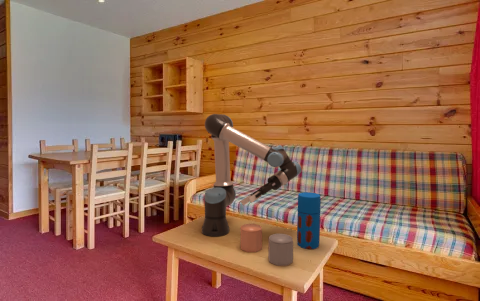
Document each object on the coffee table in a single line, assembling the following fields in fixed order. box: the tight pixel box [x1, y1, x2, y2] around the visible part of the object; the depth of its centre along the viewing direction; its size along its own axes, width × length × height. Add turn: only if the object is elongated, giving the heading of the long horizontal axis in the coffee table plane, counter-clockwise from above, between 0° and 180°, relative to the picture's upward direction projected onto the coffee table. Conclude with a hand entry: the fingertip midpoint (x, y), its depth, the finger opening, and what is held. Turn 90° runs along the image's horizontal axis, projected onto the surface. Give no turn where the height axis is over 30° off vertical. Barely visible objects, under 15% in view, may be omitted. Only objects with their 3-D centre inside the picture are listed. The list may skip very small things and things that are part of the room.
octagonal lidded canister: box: [240, 223, 263, 253], centre depth 140 cm, size 10×10×10 cm
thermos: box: [296, 192, 322, 250], centre depth 143 cm, size 11×11×25 cm
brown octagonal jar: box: [267, 233, 294, 267], centre depth 127 cm, size 10×10×10 cm
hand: (245, 202), depth 148 cm, fingers open, 13 cm apart
